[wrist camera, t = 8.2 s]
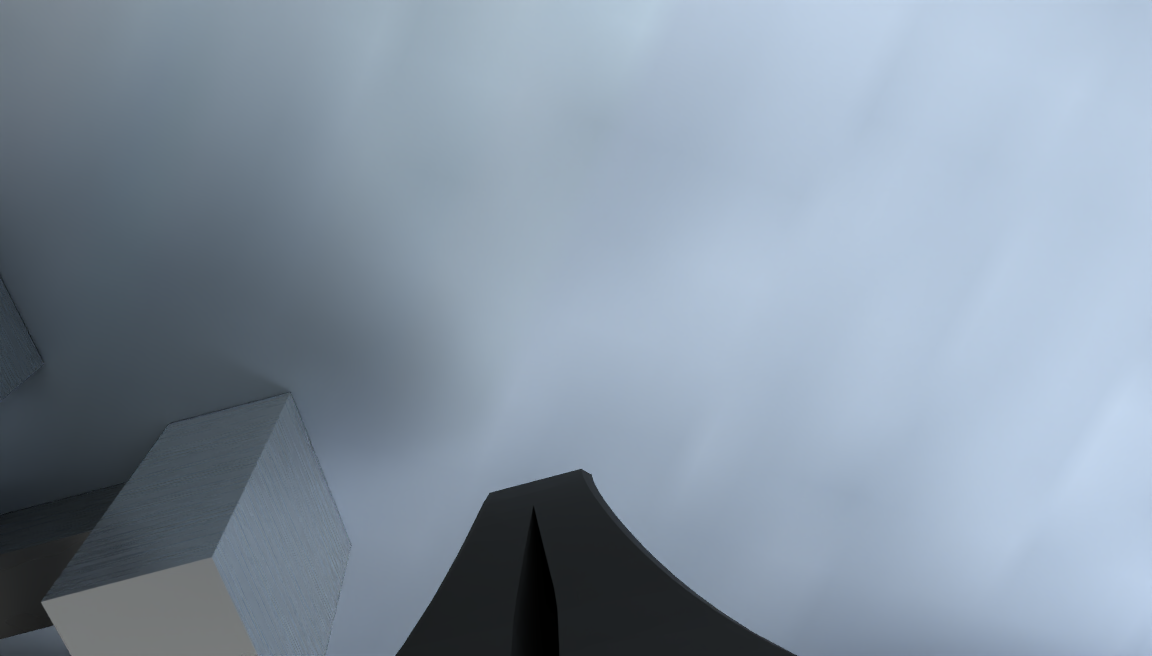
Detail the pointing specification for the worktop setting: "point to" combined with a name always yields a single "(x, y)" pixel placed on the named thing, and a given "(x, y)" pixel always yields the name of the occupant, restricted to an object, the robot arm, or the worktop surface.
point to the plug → (188, 547)
